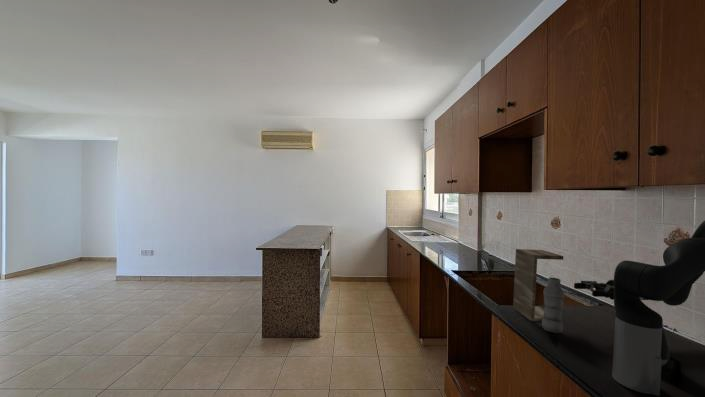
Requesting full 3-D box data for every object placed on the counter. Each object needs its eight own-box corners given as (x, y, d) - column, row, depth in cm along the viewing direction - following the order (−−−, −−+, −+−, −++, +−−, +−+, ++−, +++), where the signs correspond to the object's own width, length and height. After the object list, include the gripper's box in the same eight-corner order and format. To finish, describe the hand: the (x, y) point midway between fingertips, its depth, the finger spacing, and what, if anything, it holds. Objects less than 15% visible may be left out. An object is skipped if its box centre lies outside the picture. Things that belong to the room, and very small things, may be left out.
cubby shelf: (538, 309, 134) (541, 249, 133) (559, 321, 121) (563, 256, 120) (512, 308, 133) (515, 249, 133) (531, 320, 120) (534, 255, 120)
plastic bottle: (566, 336, 107) (569, 282, 107) (545, 334, 109) (548, 280, 108) (557, 328, 114) (560, 277, 113) (538, 326, 115) (541, 275, 115)
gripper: (608, 274, 119) (569, 274, 118) (644, 286, 105) (600, 285, 104) (608, 293, 119) (568, 292, 119) (643, 307, 105) (599, 306, 104)
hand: (583, 289), depth 111 cm, fingers open, 8 cm apart
